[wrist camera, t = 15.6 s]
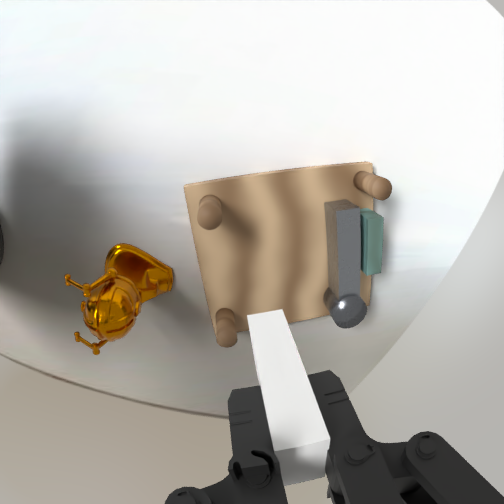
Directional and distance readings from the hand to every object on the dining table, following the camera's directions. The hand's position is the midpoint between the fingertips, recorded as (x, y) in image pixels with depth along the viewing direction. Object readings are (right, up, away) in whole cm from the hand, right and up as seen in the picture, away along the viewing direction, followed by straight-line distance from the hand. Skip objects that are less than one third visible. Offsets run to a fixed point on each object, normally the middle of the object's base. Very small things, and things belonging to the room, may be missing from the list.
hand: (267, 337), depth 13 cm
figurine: (-16, +1, +24) cm, 29 cm away
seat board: (+4, +4, +25) cm, 26 cm away
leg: (+10, +3, +25) cm, 27 cm away
